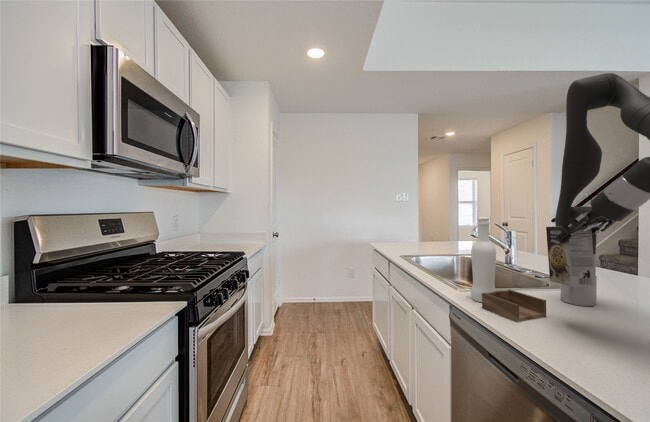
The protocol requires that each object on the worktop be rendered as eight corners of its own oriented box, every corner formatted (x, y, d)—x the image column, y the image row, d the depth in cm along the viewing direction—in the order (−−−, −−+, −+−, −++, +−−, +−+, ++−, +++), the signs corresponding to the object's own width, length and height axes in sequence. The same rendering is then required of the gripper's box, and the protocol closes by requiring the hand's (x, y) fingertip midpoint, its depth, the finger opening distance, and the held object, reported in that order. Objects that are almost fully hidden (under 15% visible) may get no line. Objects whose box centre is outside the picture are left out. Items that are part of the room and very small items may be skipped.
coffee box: (548, 281, 87) (544, 226, 88) (571, 281, 86) (567, 226, 87) (570, 286, 78) (566, 226, 79) (597, 287, 77) (592, 225, 78)
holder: (509, 303, 102) (509, 289, 102) (546, 316, 90) (546, 300, 90) (481, 307, 98) (481, 293, 98) (516, 322, 86) (516, 305, 86)
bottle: (500, 304, 101) (500, 217, 100) (474, 303, 103) (474, 217, 102) (491, 297, 109) (491, 216, 108) (468, 296, 111) (468, 216, 110)
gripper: (626, 187, 76) (576, 228, 87) (588, 187, 71) (541, 230, 82) (654, 208, 71) (597, 249, 82) (616, 209, 66) (561, 252, 78)
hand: (569, 239), depth 82 cm, fingers closed on coffee box, 8 cm apart
